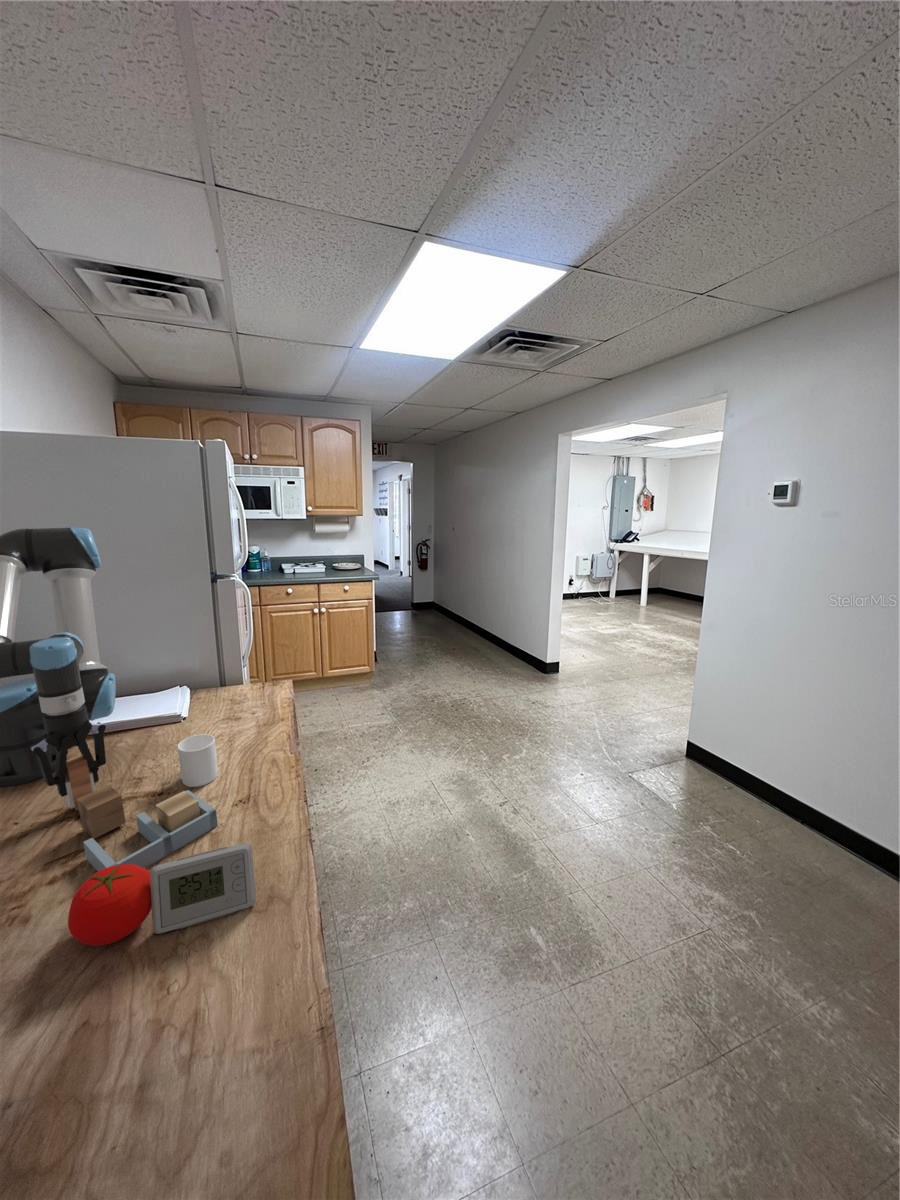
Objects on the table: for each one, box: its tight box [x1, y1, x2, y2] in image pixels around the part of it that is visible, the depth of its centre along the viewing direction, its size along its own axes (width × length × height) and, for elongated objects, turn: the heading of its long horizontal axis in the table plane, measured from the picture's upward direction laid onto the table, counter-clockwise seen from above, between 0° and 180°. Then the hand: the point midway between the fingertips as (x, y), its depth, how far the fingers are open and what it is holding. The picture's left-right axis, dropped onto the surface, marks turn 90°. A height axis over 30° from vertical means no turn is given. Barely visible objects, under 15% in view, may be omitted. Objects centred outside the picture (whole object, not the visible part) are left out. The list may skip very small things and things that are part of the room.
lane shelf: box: [83, 789, 219, 872], centre depth 99 cm, size 12×20×4 cm, turn 145°
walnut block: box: [66, 754, 126, 840], centre depth 104 cm, size 17×6×11 cm, turn 56°
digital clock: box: [149, 842, 257, 935], centre depth 82 cm, size 16×9×11 cm, turn 101°
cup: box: [177, 733, 219, 788], centre depth 121 cm, size 8×12×10 cm
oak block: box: [155, 790, 200, 833], centre depth 102 cm, size 6×6×7 cm
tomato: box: [67, 864, 152, 947], centre depth 79 cm, size 11×12×10 cm
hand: (81, 800), depth 109 cm, fingers closed on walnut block, 3 cm apart
